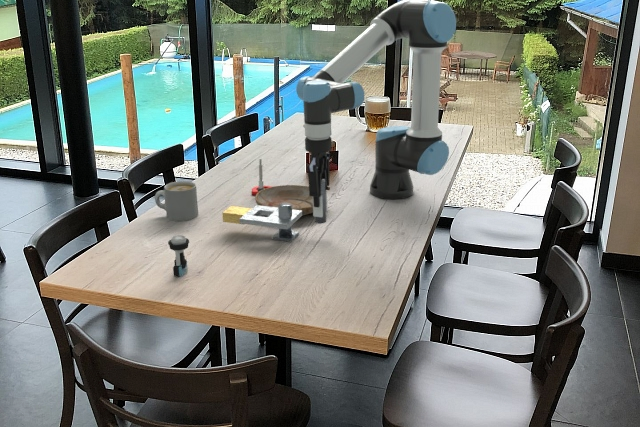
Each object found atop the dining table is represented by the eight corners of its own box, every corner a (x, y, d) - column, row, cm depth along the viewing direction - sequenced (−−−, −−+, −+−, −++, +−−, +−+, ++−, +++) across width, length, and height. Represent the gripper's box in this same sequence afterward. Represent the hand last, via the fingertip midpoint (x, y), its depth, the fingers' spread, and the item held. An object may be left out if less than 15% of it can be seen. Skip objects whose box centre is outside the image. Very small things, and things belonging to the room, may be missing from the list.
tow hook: (255, 188, 248) (248, 195, 239) (254, 153, 244) (247, 159, 235) (278, 189, 247) (272, 196, 238) (277, 154, 243) (271, 160, 234)
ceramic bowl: (273, 228, 211) (272, 212, 209) (245, 205, 231) (244, 190, 229) (339, 215, 221) (339, 200, 219) (307, 194, 240) (306, 180, 239)
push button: (177, 265, 186) (174, 231, 182) (196, 267, 185) (193, 232, 181) (168, 276, 179) (164, 241, 176) (187, 278, 179) (184, 242, 175)
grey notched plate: (302, 230, 208) (301, 199, 205) (287, 245, 198) (286, 213, 194) (236, 222, 215) (235, 192, 212) (219, 236, 205) (217, 204, 201)
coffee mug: (203, 211, 224) (201, 182, 221) (189, 222, 216) (186, 192, 212) (167, 207, 228) (164, 179, 225) (151, 218, 219) (148, 188, 216)
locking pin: (327, 219, 205) (326, 178, 200) (324, 224, 202) (323, 182, 197) (317, 218, 206) (315, 177, 201) (313, 222, 203) (311, 181, 198)
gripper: (315, 128, 202) (317, 203, 211) (295, 143, 188) (298, 222, 197) (339, 130, 200) (341, 205, 209) (321, 145, 186) (323, 225, 194)
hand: (320, 213), depth 203 cm, fingers closed on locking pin, 3 cm apart
